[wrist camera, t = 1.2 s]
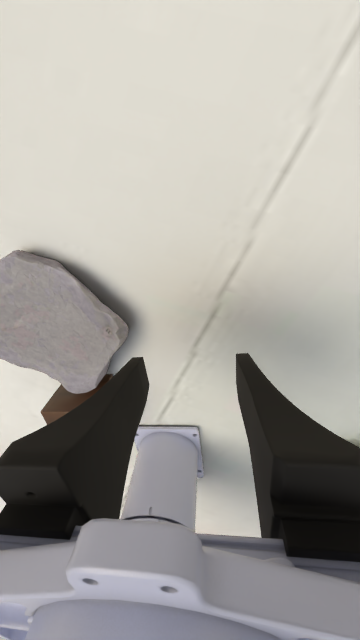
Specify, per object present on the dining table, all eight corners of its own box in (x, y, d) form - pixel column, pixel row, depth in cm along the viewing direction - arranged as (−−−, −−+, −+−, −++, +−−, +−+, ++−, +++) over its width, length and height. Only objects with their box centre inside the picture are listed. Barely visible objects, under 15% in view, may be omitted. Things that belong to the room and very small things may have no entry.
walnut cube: (122, 407, 27) (106, 448, 23) (81, 407, 28) (58, 447, 24) (112, 374, 25) (92, 412, 21) (68, 374, 26) (40, 411, 21)
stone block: (29, 234, 21) (-10, 325, 23) (-9, 233, 16) (-53, 346, 19) (148, 304, 23) (101, 379, 26) (143, 321, 19) (86, 410, 21)
